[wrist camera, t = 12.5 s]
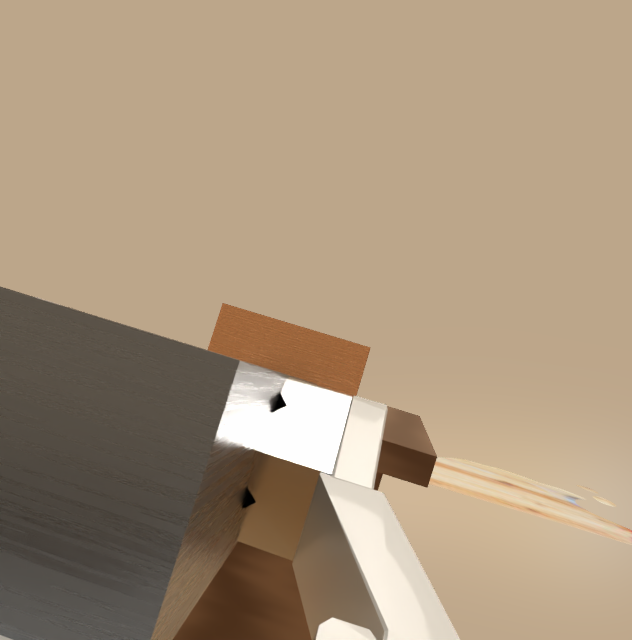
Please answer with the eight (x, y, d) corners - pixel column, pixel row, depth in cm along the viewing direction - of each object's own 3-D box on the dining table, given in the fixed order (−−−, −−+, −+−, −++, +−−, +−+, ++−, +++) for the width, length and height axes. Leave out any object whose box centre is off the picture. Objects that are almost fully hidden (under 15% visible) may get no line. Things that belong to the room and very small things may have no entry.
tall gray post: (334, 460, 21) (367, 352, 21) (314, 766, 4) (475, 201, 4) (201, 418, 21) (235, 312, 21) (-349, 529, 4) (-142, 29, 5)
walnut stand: (300, 795, 38) (418, 414, 36) (277, 974, 28) (438, 459, 26) (99, 722, 39) (204, 348, 37) (7, 870, 29) (145, 368, 27)
